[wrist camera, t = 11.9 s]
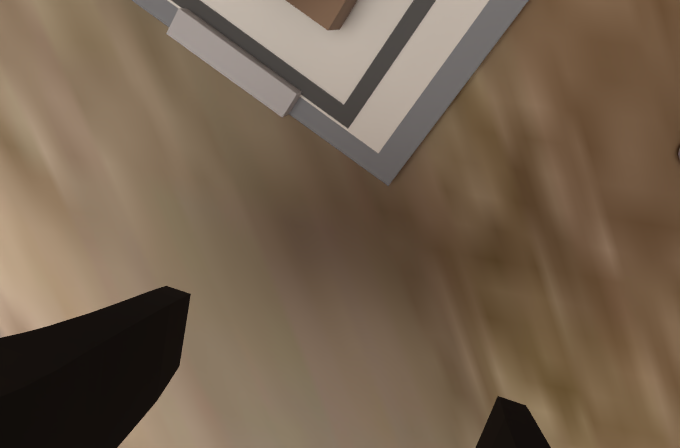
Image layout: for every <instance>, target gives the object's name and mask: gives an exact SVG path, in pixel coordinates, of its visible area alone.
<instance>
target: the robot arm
mask: <svg viewBox="0 0 680 448" xmlns="http://www.w3.org/2000/svg"><path fill="white" fill-rule="evenodd" d="M678 156H679V160H680V148H679V153H678ZM190 295H191V294H189V293H186V292H183V291H180V290H177V289H174V288H171V287H168V286H165V287H161V288H158V289H155V290H152V291H149V292H147V293H144V294H141V295H138V296H136V297H133V298H130V299H128V300H125V301H122V302H120V303H117V304H114V305H111V306H108V307H106V308H103V309H100V310H97V311H94V312H92V313H89V314H85V315H82V316H79V317H76V318H73V319H69V320H66V321H63V322H60V323H57V324H53V325H50V326H47V327H43V328H40V329H36V330H32V331H28V332H24V333H20V334H16V335H11V336H7V337H2V338H0V448H117V447H118V446H119V445H120V444H121V443H122V441H123V440H124V439H125V438H126V437H127V436H128V434H129V433H130V432H131V431H132V430H133V429H134V427H135V426H136V425H137V424H138V423H139V421H140V420H141V419H142V418H143V417H144V416H145V414H146V413H147V412H148V411H149V410H150V408H151V407H152V406H153V405H154V404H155V402H156V401H157V400H158V398H159V397H160V395H161V394H162V392H163V391H164V389H165V388H166V386H167V385H168V383H169V382H170V380H171V378H172V377H173V375H174V374H175V372H176V370H177V369H178V367H179V365H180V359H181V352H182V346H183V340H184V333H185V327H186V320H187V314H188V308H189V301H190ZM476 448H551V447H550V446H549V444H548V442H547V440H546V439H545V437H544V435H543V434H542V432H541V430H540V428H539V427H538V425H537V423H536V421H535V420H534V418H533V416H532V415H531V413H530V411H529V410H528V408H527V407H526V405H523V404H520V403H517V402H514V401H511V400H508V399H505V398H502V397H499V396H498V397H497V399H496V402H495V404H494V406H493V409H492V411H491V413H490V416H489V418H488V420H487V423H486V425H485V427H484V430H483V432H482V434H481V437H480V439H479V441H478V444H477V446H476Z"/></svg>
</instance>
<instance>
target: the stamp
mask: <svg viewBox="0 0 680 448" xmlns="http://www.w3.org/2000/svg"><path fill="white" fill-rule="evenodd" d="M286 1H287V2H288V3H290V4H291V5H293V6H294V7H295V8H297V9H298V10H300V11H301V12H303V13H304V14H305V15H307V16H308V17H310V18H311V19H312V20H314V21H315V22H317V23H318V24H319V25H321V26H322V27H324V28H325V29H326V30H340V28H341V27H342V25H343V23H344V22H345V20H346V18H347V17H348V15H349V14H350V12H351V10H352V9H353V7H354V5H355V4H356V2H357V0H286Z"/></svg>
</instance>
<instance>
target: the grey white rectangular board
mask: <svg viewBox="0 0 680 448" xmlns="http://www.w3.org/2000/svg"><path fill="white" fill-rule="evenodd" d="M132 1H133V2H135V3H136V4H138V5H139V6H140V7H142V8H143V9H144V10H146V11H147V12H149V13H150V14H151V15H153V16H154V17H156V18H157V19H158V20H160V21H161V22H162V23H164V24H165V25H167V26H168V27H169V29H168V31H167V33H166V34H168V35H169V36H170V37H172V38H173V39H174V40H176V41H177V42H179V43H180V44H181V45H183V46H184V47H185V48H187V49H188V50H190V51H191V52H192V53H194V54H195V55H197V56H198V57H199V58H201V59H202V60H203V61H205V62H206V63H208V64H209V65H210V66H212V67H213V68H215V69H216V70H217V71H219V72H220V73H221V74H223V75H224V76H226V77H227V78H228V79H230V80H231V81H232V82H234V83H235V84H237V85H238V86H239V87H241V88H242V89H244V90H245V91H246V92H248V93H249V94H250V95H252V96H253V97H255V98H256V99H257V100H259V101H260V102H262V103H263V104H264V105H266V106H267V107H268V108H270V109H271V110H273V111H274V112H275V113H277V114H278V115H279V116H281V117H284V116H286V115H288V114H290V115H291V116H292V117H294V118H295V119H296V120H298V121H299V122H301V123H302V124H303V125H305V126H306V127H307V128H309V129H310V130H312V131H313V132H314V133H316V134H317V135H319V136H320V137H321V138H323V139H324V140H325V141H327V142H328V143H330V144H331V145H332V146H334V147H335V148H336V149H338V150H339V151H341V152H342V153H343V154H345V155H346V156H348V157H349V158H350V159H352V160H353V161H354V162H356V163H357V164H359V165H360V166H361V167H363V168H364V169H365V170H367V171H368V172H370V173H371V174H372V175H374V176H375V177H377V178H378V179H379V180H381V181H382V182H383V183H385V184H386V185H388V186H389V184H390V183H391V182H392V180H393V179H394V178H395V176H396V175H397V174H398V172H399V171H400V170H401V168H402V167H403V166H404V164H405V163H406V162H407V161H408V159H409V158H410V157H411V155H412V154H413V153H414V151H415V150H416V149H417V147H418V146H419V145H420V143H421V142H422V141H423V139H424V138H425V137H426V135H427V134H428V133H429V131H430V130H431V129H432V127H433V126H434V125H435V123H436V122H437V121H438V119H439V118H440V117H441V115H442V114H443V113H444V112H445V110H446V109H447V108H448V106H449V105H450V104H451V102H452V101H453V100H454V98H455V97H456V96H457V94H458V93H459V92H460V90H461V89H462V88H463V86H464V85H465V84H466V82H467V81H468V80H469V78H470V77H471V76H472V74H473V73H474V72H475V70H476V69H477V68H478V66H479V65H480V64H481V63H482V61H483V60H484V59H485V57H486V56H487V55H488V53H489V52H490V51H491V49H492V48H493V47H494V45H495V44H496V43H497V41H498V40H499V39H500V37H501V36H502V35H503V33H504V32H505V31H506V29H507V28H508V27H509V25H510V24H511V23H512V21H513V20H514V19H515V17H516V16H517V15H518V14H519V12H520V11H521V10H522V8H523V7H524V6H525V4H526V3H527V2H528V0H357V2H356V4H355V5H354V7H353V9H352V10H351V12H350V14H349V15H348V17H347V18H346V20H345V22H344V23H343V25H342V27H341V28H340V30H326V29H325V28H324V27H322V26H321V25H319V24H318V23H317V22H315V21H314V20H312V19H311V18H310V17H308V16H307V15H305V14H304V13H303V12H301V11H300V10H298V9H297V8H295V7H294V6H293V5H291V4H290V3H288V2H287V1H286V0H132Z"/></svg>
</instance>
